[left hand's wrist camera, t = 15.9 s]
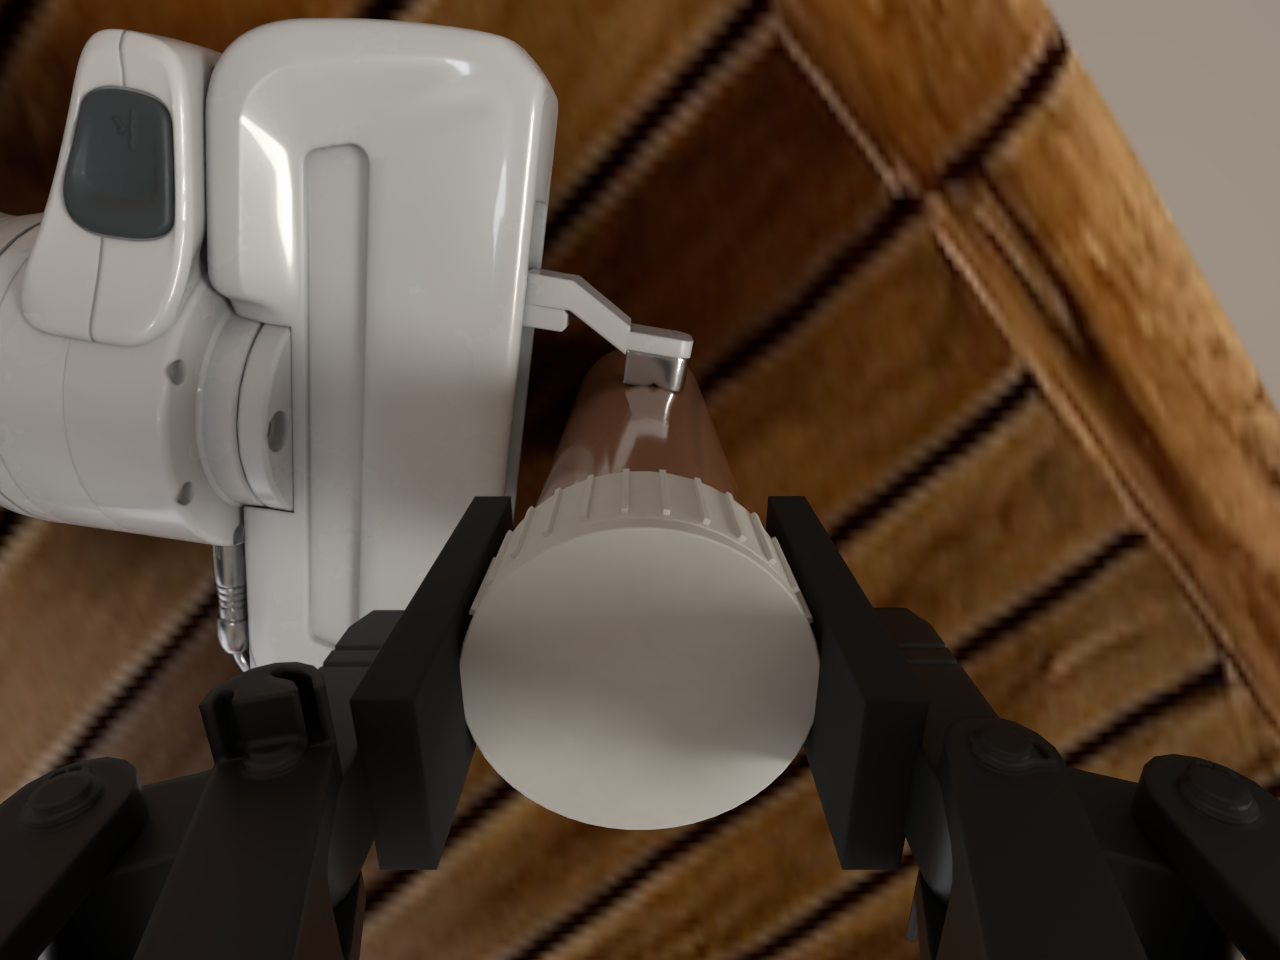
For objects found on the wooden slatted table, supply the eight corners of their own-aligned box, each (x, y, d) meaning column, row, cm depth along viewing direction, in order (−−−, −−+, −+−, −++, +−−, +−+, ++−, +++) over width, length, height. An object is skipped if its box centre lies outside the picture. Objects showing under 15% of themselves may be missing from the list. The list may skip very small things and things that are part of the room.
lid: (470, 709, 13) (435, 807, 11) (505, 437, 11) (473, 488, 9) (750, 752, 14) (771, 856, 11) (830, 496, 12) (876, 560, 9)
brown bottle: (590, 331, 26) (510, 498, 10) (715, 359, 26) (835, 564, 10) (567, 452, 27) (466, 761, 11) (685, 476, 28) (746, 810, 12)
